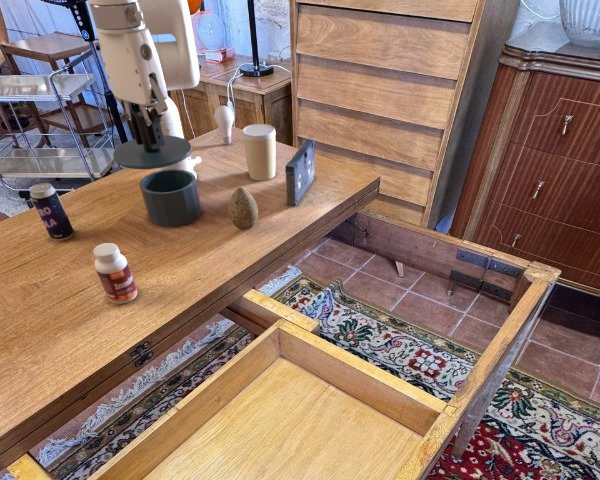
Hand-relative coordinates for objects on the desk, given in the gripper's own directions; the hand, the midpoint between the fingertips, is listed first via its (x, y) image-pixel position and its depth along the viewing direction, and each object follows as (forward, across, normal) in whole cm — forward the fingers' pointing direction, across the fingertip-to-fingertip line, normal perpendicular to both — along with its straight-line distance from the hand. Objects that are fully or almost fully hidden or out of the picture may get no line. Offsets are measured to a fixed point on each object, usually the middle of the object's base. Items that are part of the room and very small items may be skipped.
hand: (150, 143), depth 83 cm
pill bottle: (+25, 0, +16) cm, 30 cm away
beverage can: (+25, +32, +9) cm, 42 cm away
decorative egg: (+25, -3, -20) cm, 32 cm away
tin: (+25, +17, -15) cm, 34 cm away
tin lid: (+2, 0, 0) cm, 2 cm away
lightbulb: (+25, +37, -57) cm, 72 cm away
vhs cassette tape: (+25, -2, -44) cm, 51 cm away
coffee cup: (+25, +13, -46) cm, 54 cm away
